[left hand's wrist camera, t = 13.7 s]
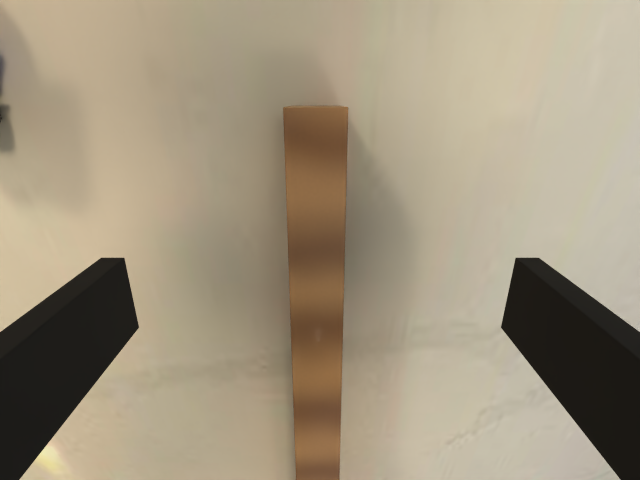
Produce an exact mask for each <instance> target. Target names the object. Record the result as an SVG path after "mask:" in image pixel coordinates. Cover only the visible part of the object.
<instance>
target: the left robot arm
mask: <svg viewBox="0 0 640 480" xmlns="http://www.w3.org/2000/svg"><path fill="white" fill-rule="evenodd" d="M138 328H139V326H138V321H137V316H136V311H135V307H134V302H133V297H132V292H131V288H130V283H129V278H128V273H127V269H126V264H125V259H124V258H100V259H99V260H98V261H96V262H95V263H94V264H92V265H91V266H90V267H88V268H87V269H86V270H84V271H83V272H81V273H80V274H79V275H77V276H76V277H75V278H73V279H72V280H71V281H69V282H68V283H67V284H65V285H64V286H62V287H61V288H60V289H58V290H57V291H56V292H54V293H53V294H52V295H50V296H49V297H47V298H46V299H45V300H43V301H42V302H41V303H39V304H38V305H37V306H35V307H34V308H33V309H31V310H30V311H28V312H27V313H26V314H24V315H23V316H22V317H20V318H19V319H18V320H16V321H15V322H13V323H12V324H11V325H9V326H8V327H7V328H5V329H4V330H3V331H1V332H0V480H19V479H20V478H21V477H22V475H23V474H24V473H25V472H26V470H27V469H28V468H29V467H30V465H31V464H32V463H33V461H34V460H35V459H36V458H37V456H38V455H39V454H40V453H41V451H42V450H43V449H44V447H45V446H46V445H47V444H48V442H49V441H50V440H51V439H52V437H53V436H54V435H55V434H56V432H57V431H58V430H59V428H60V427H61V426H62V425H63V423H64V422H65V421H66V420H67V418H68V417H69V416H70V414H71V413H72V412H73V411H74V409H75V408H76V407H77V406H78V404H79V403H80V402H81V400H82V399H83V398H84V397H85V395H86V394H87V393H88V392H89V390H90V389H91V388H92V386H93V385H94V384H95V383H96V381H97V380H98V379H99V378H100V376H101V375H102V374H103V372H104V371H105V370H106V369H107V367H108V366H109V365H110V364H111V362H112V361H113V360H114V358H115V357H116V356H117V355H118V353H119V352H120V351H121V350H122V348H123V347H124V346H125V344H126V343H127V342H128V341H129V339H130V338H131V337H132V336H133V334H134V333H135V332H136V330H137V329H138ZM501 328H502V329H503V330H504V332H505V333H506V334H507V336H508V337H509V338H510V339H511V341H512V342H513V343H514V344H515V346H516V347H517V348H518V350H519V351H520V352H521V353H522V355H523V356H524V357H525V358H526V360H527V361H528V362H529V364H530V365H531V366H532V367H533V369H534V370H535V371H536V372H537V374H538V375H539V376H540V378H541V379H542V380H543V381H544V383H545V384H546V385H547V386H548V388H549V389H550V390H551V392H552V393H553V394H554V395H555V397H556V398H557V399H558V400H559V402H560V403H561V404H562V406H563V407H564V408H565V409H566V411H567V412H568V413H569V414H570V416H571V417H572V418H573V420H574V421H575V422H576V423H577V425H578V426H579V427H580V428H581V430H582V431H583V432H584V434H585V435H586V436H587V437H588V439H589V440H590V441H591V442H592V444H593V445H594V446H595V447H596V449H597V450H598V451H599V453H600V454H601V455H602V456H603V458H604V459H605V460H606V461H607V463H608V464H609V465H610V467H611V468H612V469H613V470H614V472H615V473H616V474H617V475H618V477H619V478H620V479H621V480H640V332H639V331H637V330H636V329H635V328H633V327H632V326H631V325H629V324H628V323H627V322H625V321H624V320H622V319H621V318H620V317H618V316H617V315H616V314H614V313H613V312H612V311H610V310H609V309H607V308H606V307H605V306H603V305H602V304H601V303H599V302H598V301H597V300H595V299H594V298H593V297H591V296H590V295H588V294H587V293H586V292H584V291H583V290H582V289H580V288H579V287H578V286H576V285H575V284H573V283H572V282H571V281H569V280H568V279H567V278H565V277H564V276H563V275H561V274H560V273H559V272H557V271H556V270H554V269H553V268H552V267H550V266H549V265H548V264H546V263H545V262H544V261H542V260H541V259H540V258H516V259H515V264H514V269H513V273H512V278H511V283H510V288H509V292H508V297H507V302H506V307H505V311H504V316H503V321H502V326H501Z"/></svg>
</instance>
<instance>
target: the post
mask: <svg viewBox="0 0 640 480" xmlns="http://www.w3.org/2000/svg"><path fill="white" fill-rule="evenodd" d="M283 114H284V143H285V171H286V200H287V229H288V258H289V286H290V315H291V344H292V373H293V401H294V430H295V459H296V480H339V470H340V428H341V386H342V344H343V302H344V260H345V218H346V176H347V134H348V107H344V106H288V107H284V108H283Z"/></svg>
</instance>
